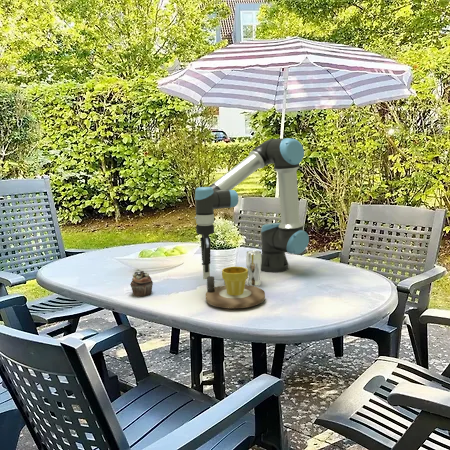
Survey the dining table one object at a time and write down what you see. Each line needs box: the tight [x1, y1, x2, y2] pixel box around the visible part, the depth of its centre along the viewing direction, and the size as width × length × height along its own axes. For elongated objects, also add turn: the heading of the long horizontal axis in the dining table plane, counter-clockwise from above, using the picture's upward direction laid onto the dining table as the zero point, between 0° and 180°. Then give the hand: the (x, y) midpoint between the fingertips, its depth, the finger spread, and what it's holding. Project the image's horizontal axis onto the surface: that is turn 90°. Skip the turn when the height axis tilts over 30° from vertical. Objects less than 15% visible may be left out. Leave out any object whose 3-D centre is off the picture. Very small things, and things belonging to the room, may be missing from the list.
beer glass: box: [245, 249, 262, 287], centre depth 214 cm, size 7×7×15 cm
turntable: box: [205, 275, 266, 309], centre depth 192 cm, size 24×24×8 cm
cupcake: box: [130, 270, 154, 298], centre depth 205 cm, size 10×10×10 cm
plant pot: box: [221, 266, 248, 296], centre depth 192 cm, size 10×10×10 cm
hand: (206, 278), depth 203 cm, fingers closed
